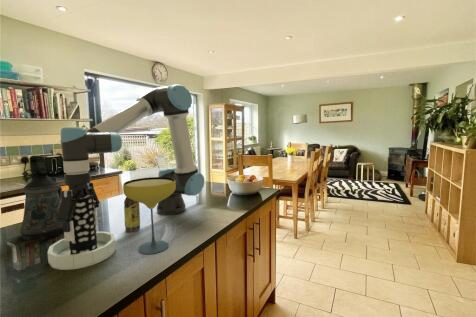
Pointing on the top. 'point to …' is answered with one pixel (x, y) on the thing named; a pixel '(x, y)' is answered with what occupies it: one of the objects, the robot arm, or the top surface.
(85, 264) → the bowl
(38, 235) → the beer stein
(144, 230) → the top surface
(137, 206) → the sauce bottle
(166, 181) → the cocktail glass
